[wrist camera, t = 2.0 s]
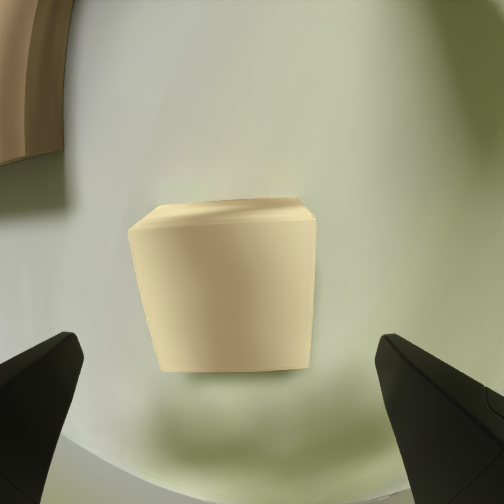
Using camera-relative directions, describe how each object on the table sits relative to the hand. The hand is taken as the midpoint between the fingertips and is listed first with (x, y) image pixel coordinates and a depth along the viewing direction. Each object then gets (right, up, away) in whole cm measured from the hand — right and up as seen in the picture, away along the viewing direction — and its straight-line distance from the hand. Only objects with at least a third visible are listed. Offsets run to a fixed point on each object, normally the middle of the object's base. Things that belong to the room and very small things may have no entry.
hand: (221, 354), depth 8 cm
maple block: (0, +2, +6) cm, 7 cm away
